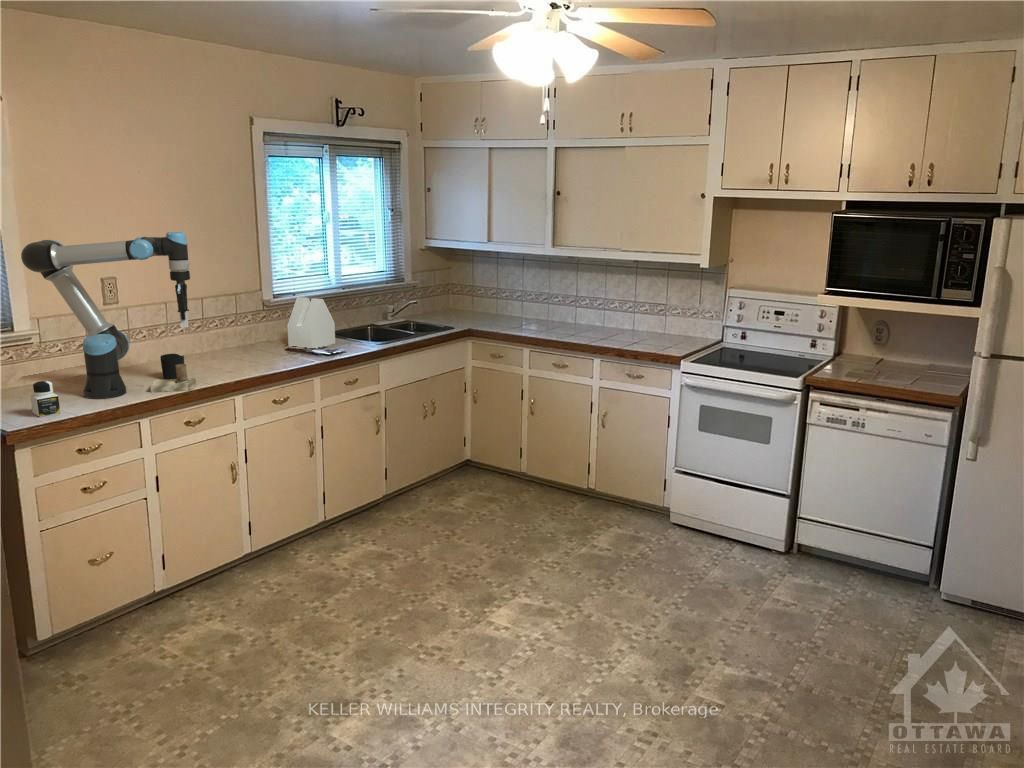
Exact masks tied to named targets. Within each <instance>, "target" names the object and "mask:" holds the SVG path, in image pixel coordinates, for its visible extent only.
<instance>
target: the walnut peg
mask: <svg viewBox="0 0 1024 768" xmlns="http://www.w3.org/2000/svg"><path fill="white" fill-rule="evenodd" d="M176 375H177V383H188V380H187V379H188V369H187V364H186V363H184V364H177V365H176Z"/></svg>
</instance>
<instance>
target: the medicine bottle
mask: <svg viewBox="0 0 1024 768" xmlns="http://www.w3.org/2000/svg"><path fill="white" fill-rule="evenodd" d="M32 388H33V394H31V395H30V396H29V397H30V403H31V408H32V409H31V410H32V414H33V413H34V414H33V415H35V416H37V417H38V416H39V418H41V417H40V416H44V417H47V416H46V415H49V416H53V415H52V414H55V415H58V414H57V413H60V414H61V407H60V399H59V395H58V394H56V393H55V392H54V387H53V382H51V381H50V380H49V381H48V380H42V381H41V380H40V381H36V382H35V383H33V384H32Z"/></svg>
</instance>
